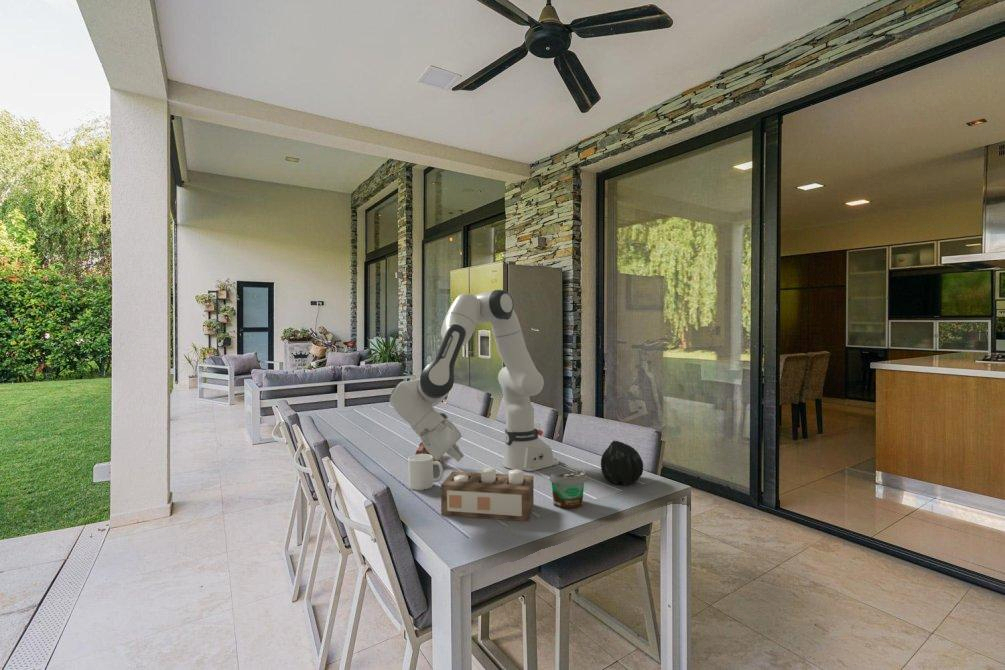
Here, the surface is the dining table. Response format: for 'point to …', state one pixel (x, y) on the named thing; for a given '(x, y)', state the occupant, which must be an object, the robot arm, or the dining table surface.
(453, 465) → the dining table surface
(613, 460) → the squash
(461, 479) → the white egg
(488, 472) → the white rounded cylinder
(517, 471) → the white rounded cylinder
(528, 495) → the wooden peg block
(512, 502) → the pattern card
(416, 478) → the cup
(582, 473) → the food container
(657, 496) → the dining table surface
